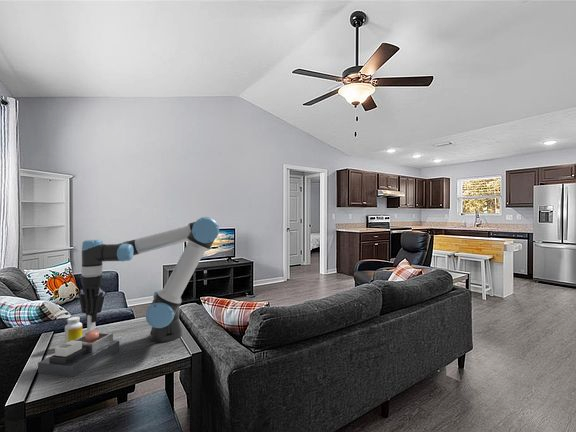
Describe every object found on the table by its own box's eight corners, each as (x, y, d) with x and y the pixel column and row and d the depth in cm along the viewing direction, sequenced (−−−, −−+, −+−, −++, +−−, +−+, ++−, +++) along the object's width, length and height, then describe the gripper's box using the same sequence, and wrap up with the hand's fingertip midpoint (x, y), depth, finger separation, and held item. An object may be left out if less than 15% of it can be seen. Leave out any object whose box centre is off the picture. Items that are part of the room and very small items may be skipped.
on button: (81, 348, 119) (81, 340, 119) (65, 356, 112) (65, 348, 112) (71, 347, 120) (71, 340, 120) (55, 355, 113) (55, 347, 113)
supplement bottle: (85, 343, 137) (85, 316, 137) (71, 350, 131) (71, 321, 131) (75, 342, 140) (75, 315, 140) (61, 347, 133) (61, 319, 133)
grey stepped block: (119, 349, 131) (119, 332, 131) (73, 377, 109) (73, 357, 109) (89, 346, 134) (89, 330, 134) (38, 372, 112) (38, 353, 112)
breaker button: (101, 337, 129) (101, 331, 129) (92, 342, 124) (92, 335, 124) (92, 337, 129) (92, 330, 129) (82, 341, 125) (82, 334, 125)
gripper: (111, 274, 129) (111, 327, 129) (86, 273, 132) (86, 325, 131) (97, 277, 122) (97, 334, 122) (71, 276, 124) (70, 331, 124)
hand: (91, 329), depth 126 cm, fingers closed
